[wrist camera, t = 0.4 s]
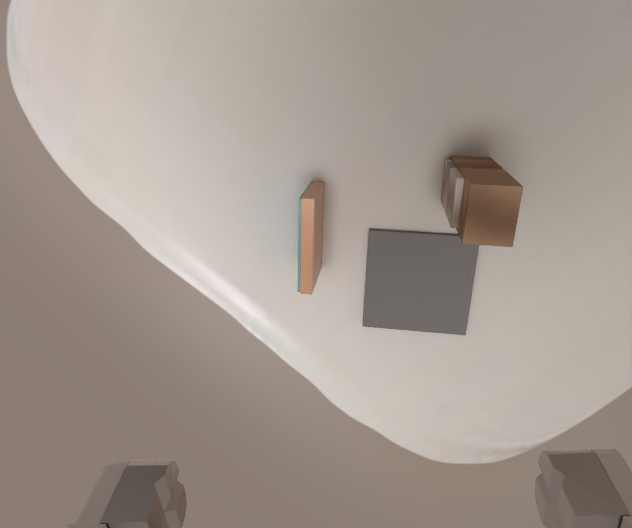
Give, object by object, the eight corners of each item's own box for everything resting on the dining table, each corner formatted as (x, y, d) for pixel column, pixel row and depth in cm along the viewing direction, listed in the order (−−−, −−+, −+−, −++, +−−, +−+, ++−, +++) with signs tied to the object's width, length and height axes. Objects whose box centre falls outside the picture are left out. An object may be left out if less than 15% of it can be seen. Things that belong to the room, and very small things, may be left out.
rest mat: (369, 228, 58) (369, 230, 57) (479, 235, 56) (480, 237, 56) (362, 323, 62) (362, 326, 61) (464, 332, 61) (465, 335, 60)
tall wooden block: (445, 155, 54) (462, 183, 41) (490, 157, 53) (523, 186, 40) (439, 202, 56) (455, 243, 43) (483, 204, 55) (512, 246, 42)
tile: (310, 181, 57) (298, 198, 49) (324, 181, 56) (314, 199, 49) (309, 265, 60) (297, 293, 53) (321, 266, 60) (311, 294, 53)
